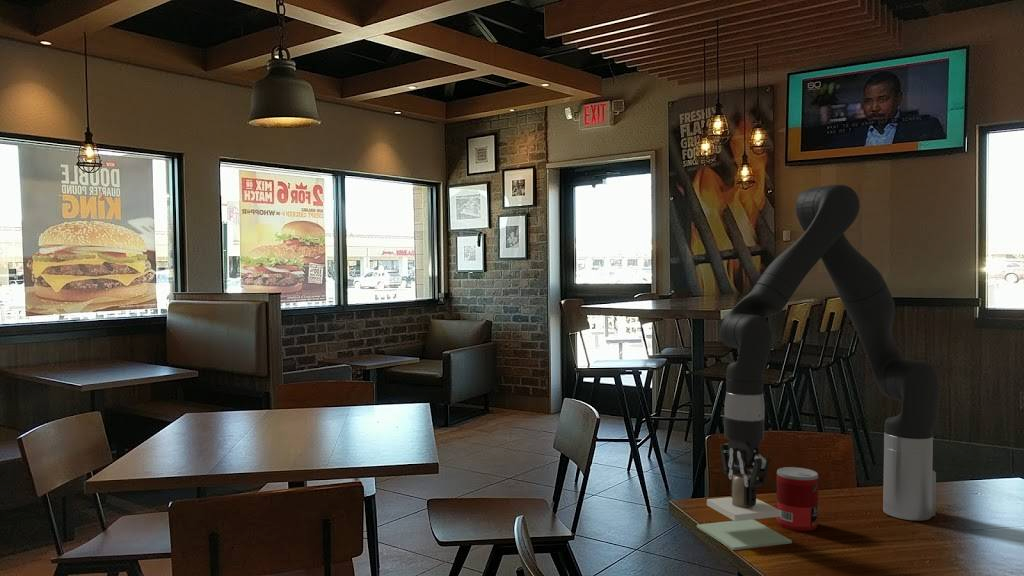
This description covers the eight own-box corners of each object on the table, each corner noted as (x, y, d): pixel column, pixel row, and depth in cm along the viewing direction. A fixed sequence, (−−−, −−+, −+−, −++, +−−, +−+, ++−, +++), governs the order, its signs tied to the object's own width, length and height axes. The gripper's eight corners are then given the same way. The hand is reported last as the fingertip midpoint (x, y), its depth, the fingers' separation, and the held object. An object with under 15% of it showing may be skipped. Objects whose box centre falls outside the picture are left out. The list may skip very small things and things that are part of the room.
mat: (752, 521, 157) (752, 518, 157) (792, 543, 145) (792, 540, 145) (696, 527, 154) (696, 524, 154) (732, 550, 141) (732, 547, 141)
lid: (749, 501, 155) (750, 468, 155) (780, 516, 146) (780, 481, 146) (706, 505, 153) (707, 471, 152) (734, 521, 143) (735, 485, 143)
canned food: (821, 532, 151) (821, 478, 150) (779, 529, 152) (779, 475, 152) (813, 520, 158) (814, 468, 158) (773, 517, 160) (774, 465, 159)
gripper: (783, 421, 143) (781, 511, 143) (740, 407, 157) (739, 490, 157) (748, 423, 141) (747, 514, 141) (708, 409, 154) (707, 492, 155)
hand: (743, 501), depth 149 cm, fingers closed on lid, 4 cm apart
